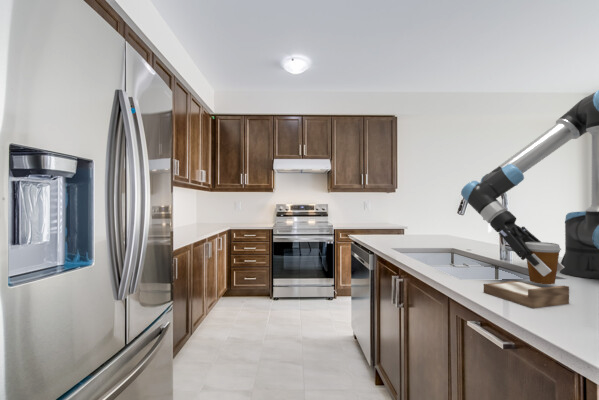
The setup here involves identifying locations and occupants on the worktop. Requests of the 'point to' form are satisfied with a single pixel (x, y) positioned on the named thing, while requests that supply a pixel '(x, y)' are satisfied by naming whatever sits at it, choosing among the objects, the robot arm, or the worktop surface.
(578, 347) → the worktop surface
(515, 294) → the dock board
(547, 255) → the disposable coffee cup
